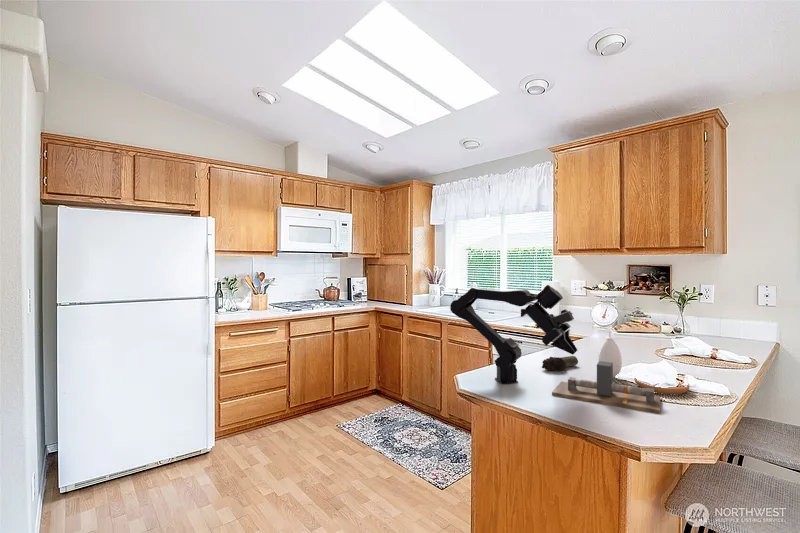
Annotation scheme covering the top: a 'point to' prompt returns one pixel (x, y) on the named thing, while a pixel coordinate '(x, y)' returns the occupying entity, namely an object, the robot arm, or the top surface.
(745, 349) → the top surface
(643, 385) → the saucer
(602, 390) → the grey upright block
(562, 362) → the dark elongated piece
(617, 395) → the pipe board
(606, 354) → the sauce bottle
